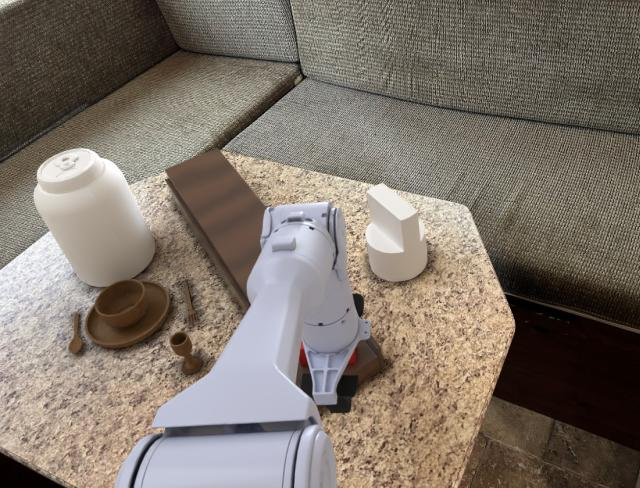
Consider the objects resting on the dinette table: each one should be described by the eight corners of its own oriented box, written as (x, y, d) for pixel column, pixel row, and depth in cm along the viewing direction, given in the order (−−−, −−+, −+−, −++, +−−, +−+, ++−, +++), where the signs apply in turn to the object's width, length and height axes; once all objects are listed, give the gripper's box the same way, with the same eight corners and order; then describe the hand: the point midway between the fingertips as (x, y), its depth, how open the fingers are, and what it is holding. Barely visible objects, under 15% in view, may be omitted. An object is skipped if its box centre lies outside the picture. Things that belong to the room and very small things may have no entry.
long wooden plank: (384, 368, 79) (379, 337, 75) (309, 416, 75) (299, 386, 71) (230, 174, 115) (220, 146, 111) (172, 198, 111) (161, 170, 107)
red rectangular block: (300, 366, 77) (295, 349, 75) (303, 347, 79) (298, 330, 77) (355, 364, 76) (351, 347, 74) (357, 345, 78) (353, 328, 76)
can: (73, 253, 101) (16, 157, 89) (148, 224, 106) (104, 128, 93) (83, 301, 93) (21, 202, 80) (165, 267, 97) (118, 168, 84)
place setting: (187, 271, 96) (175, 244, 92) (208, 368, 81) (195, 340, 78) (70, 311, 91) (53, 285, 88) (70, 422, 77) (50, 395, 73)
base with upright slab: (358, 258, 95) (348, 199, 87) (404, 231, 99) (398, 173, 91) (392, 291, 89) (384, 231, 82) (439, 261, 93) (435, 202, 85)
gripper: (359, 366, 53) (376, 440, 62) (368, 244, 64) (382, 322, 73) (280, 369, 53) (308, 442, 62) (302, 247, 64) (324, 324, 73)
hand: (343, 377), depth 67 cm, fingers open, 7 cm apart
